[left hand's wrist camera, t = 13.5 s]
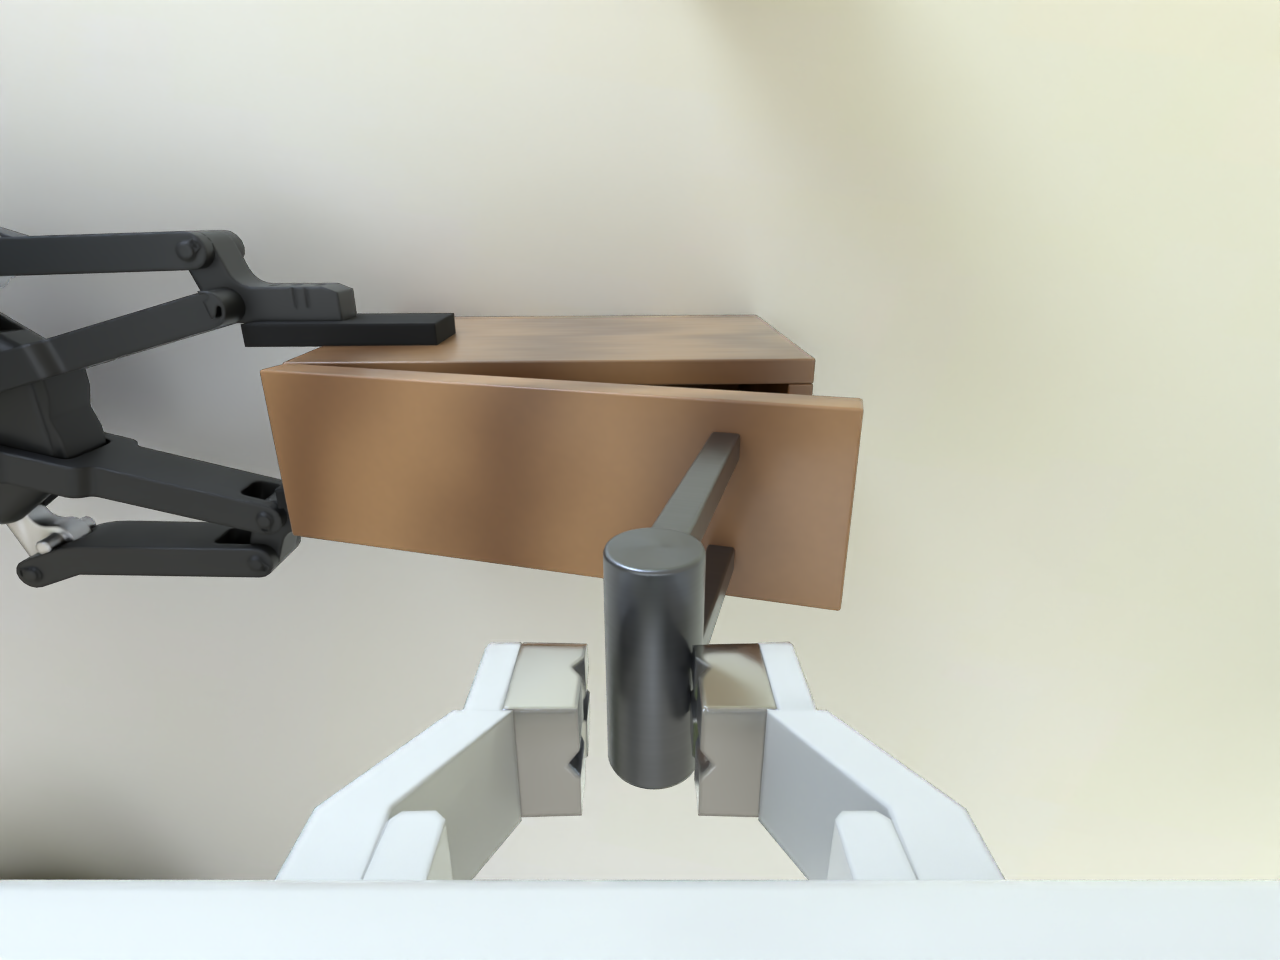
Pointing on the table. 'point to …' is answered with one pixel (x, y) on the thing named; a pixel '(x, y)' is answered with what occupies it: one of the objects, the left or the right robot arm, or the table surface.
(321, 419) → the lid
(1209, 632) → the table surface
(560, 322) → the chest
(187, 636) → the table surface
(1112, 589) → the table surface
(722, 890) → the left robot arm
